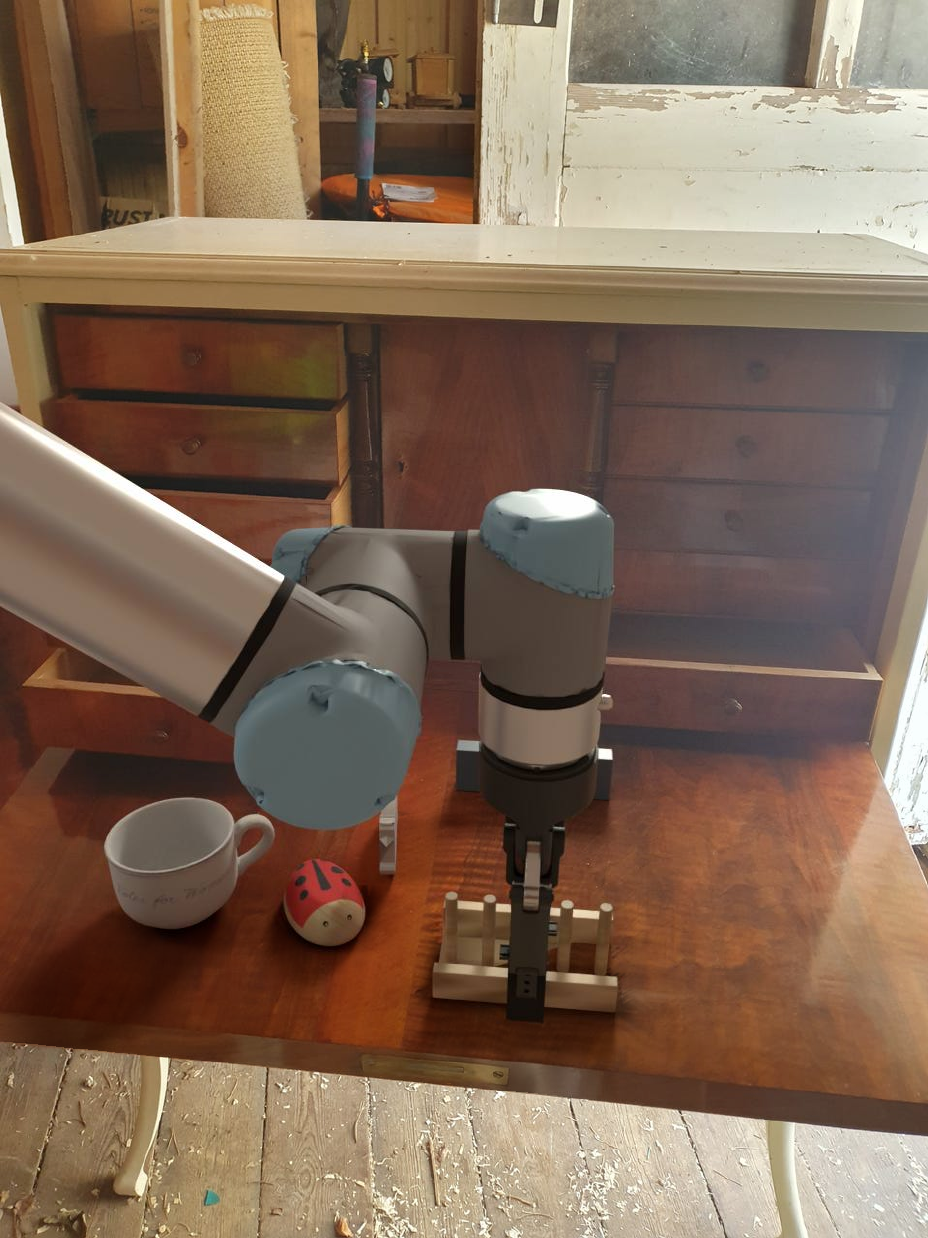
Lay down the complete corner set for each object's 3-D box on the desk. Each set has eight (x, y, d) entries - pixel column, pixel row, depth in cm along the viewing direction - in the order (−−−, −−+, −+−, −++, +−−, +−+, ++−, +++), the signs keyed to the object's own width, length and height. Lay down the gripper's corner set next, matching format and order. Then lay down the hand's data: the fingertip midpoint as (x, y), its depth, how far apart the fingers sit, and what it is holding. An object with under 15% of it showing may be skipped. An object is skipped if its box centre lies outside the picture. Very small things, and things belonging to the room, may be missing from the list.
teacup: (107, 954, 80) (92, 878, 76) (127, 868, 89) (115, 797, 86) (277, 936, 82) (271, 862, 78) (279, 854, 91) (273, 784, 88)
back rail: (455, 790, 101) (456, 750, 99) (457, 779, 103) (458, 739, 101) (609, 800, 100) (612, 759, 98) (608, 789, 102) (612, 749, 99)
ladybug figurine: (307, 962, 79) (304, 929, 78) (269, 889, 87) (266, 858, 85) (381, 935, 82) (380, 903, 81) (339, 867, 90) (337, 836, 88)
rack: (432, 1010, 75) (432, 932, 72) (444, 935, 82) (444, 861, 79) (613, 1025, 74) (622, 946, 70) (609, 948, 81) (616, 873, 78)
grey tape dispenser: (397, 818, 97) (394, 885, 88) (384, 819, 97) (379, 885, 88) (396, 770, 94) (393, 834, 85) (382, 770, 94) (378, 834, 85)
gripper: (603, 806, 54) (577, 1096, 64) (596, 690, 66) (575, 951, 76) (469, 797, 54) (465, 1086, 65) (486, 684, 66) (480, 944, 76)
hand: (525, 1013), depth 70 cm, fingers closed
